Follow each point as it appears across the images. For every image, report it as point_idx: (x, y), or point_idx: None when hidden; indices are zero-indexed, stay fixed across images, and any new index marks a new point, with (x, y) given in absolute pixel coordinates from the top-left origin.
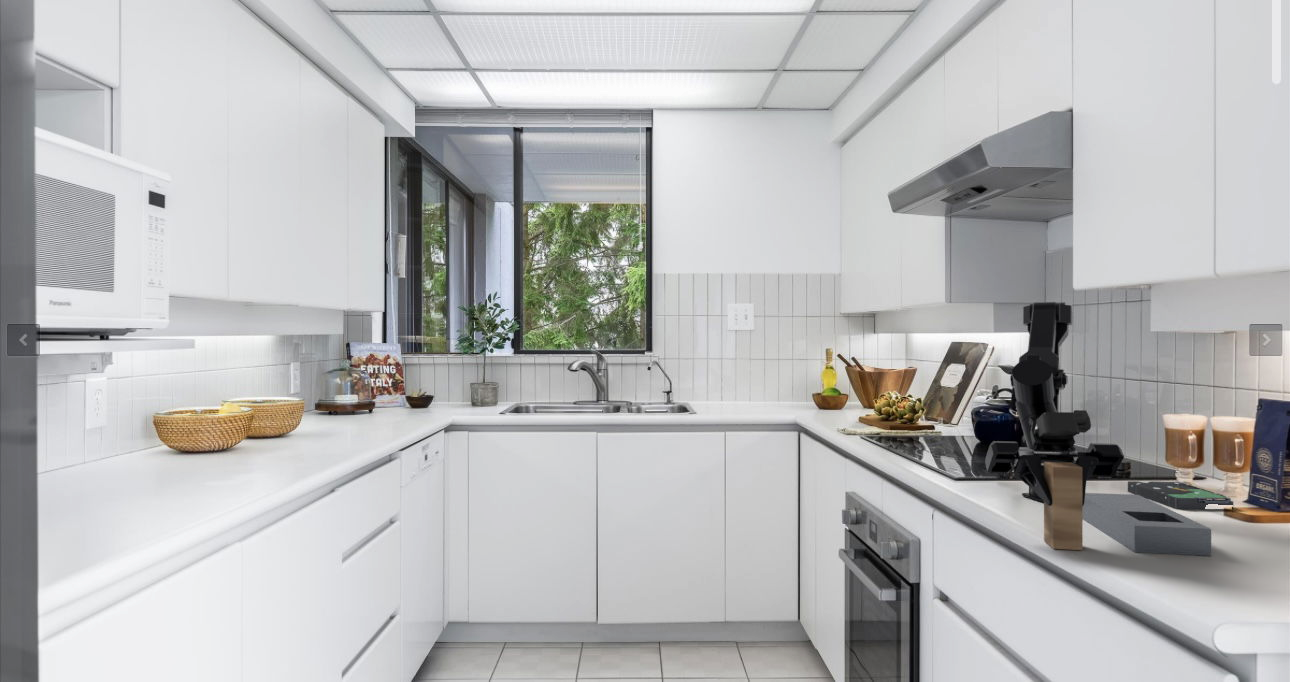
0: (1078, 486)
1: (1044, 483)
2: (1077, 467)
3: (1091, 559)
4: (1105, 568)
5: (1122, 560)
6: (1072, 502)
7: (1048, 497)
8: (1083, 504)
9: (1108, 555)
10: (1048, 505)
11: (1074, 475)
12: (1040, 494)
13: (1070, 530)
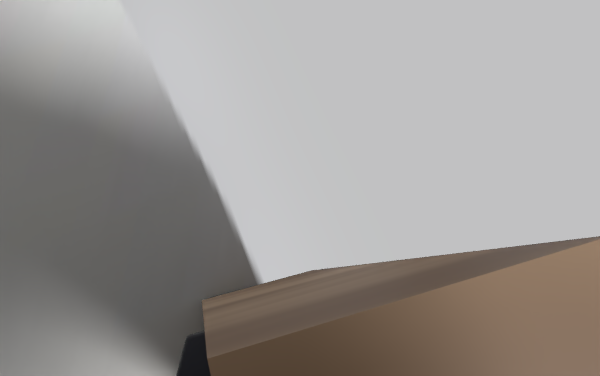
0: (241, 314)
1: None
2: (289, 334)
3: (185, 187)
4: (155, 88)
5: (62, 222)
6: (271, 294)
7: None
8: (192, 334)
9: (105, 277)
10: None
11: (304, 311)
12: None
13: (258, 288)
